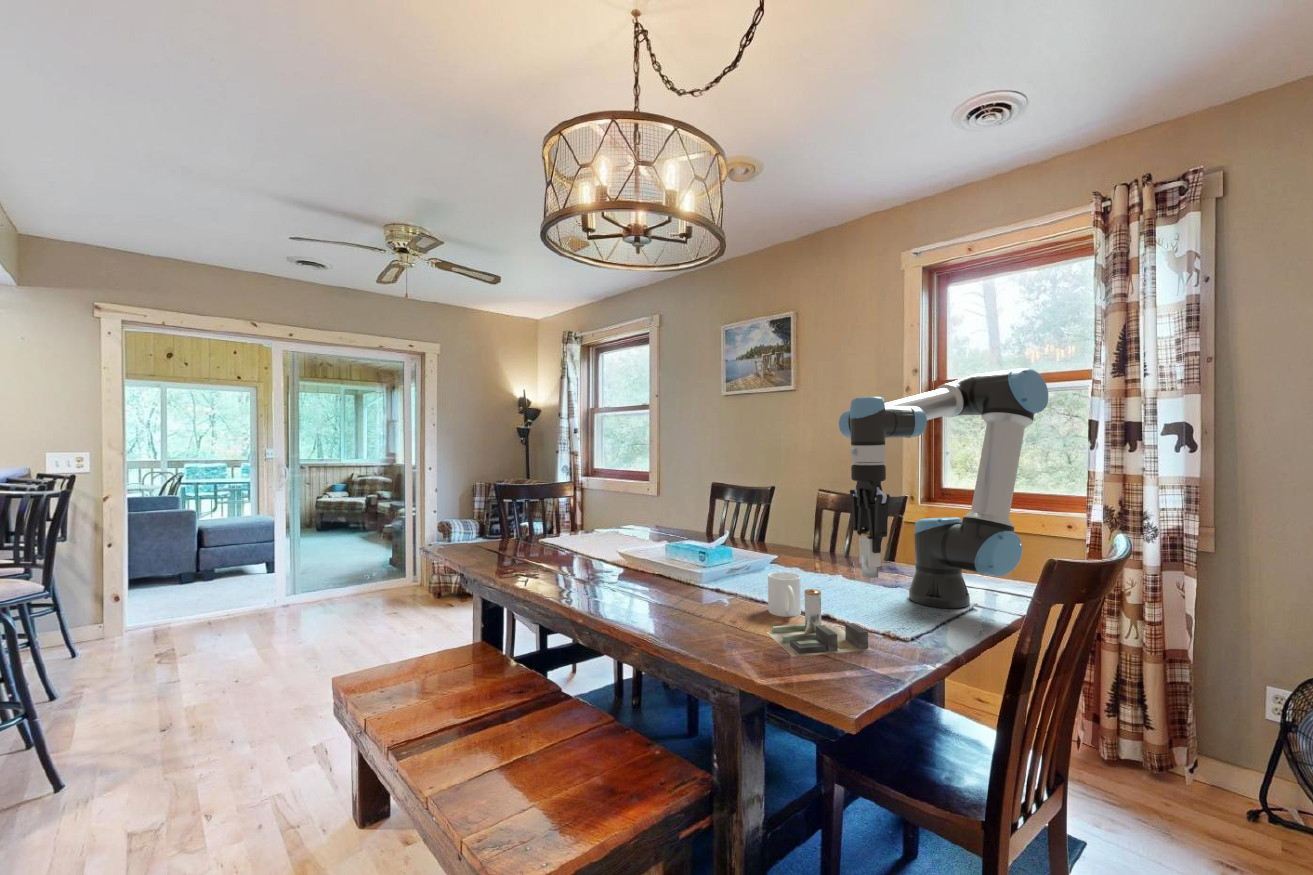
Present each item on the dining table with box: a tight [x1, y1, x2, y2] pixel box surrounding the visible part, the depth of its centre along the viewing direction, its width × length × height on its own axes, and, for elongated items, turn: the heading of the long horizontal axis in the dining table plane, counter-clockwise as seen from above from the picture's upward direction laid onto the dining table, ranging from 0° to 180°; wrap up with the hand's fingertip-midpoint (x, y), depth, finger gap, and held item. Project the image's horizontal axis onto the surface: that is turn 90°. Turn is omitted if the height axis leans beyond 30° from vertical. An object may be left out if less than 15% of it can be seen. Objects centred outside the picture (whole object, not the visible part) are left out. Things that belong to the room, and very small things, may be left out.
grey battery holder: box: [765, 622, 873, 658], centre depth 125 cm, size 18×15×4 cm
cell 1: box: [804, 588, 822, 634], centre depth 129 cm, size 4×4×10 cm
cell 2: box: [861, 532, 879, 579], centre depth 131 cm, size 4×4×10 cm
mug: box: [767, 571, 802, 618], centre depth 145 cm, size 12×8×10 cm
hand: (870, 564), depth 131 cm, fingers closed on cell 2, 3 cm apart
